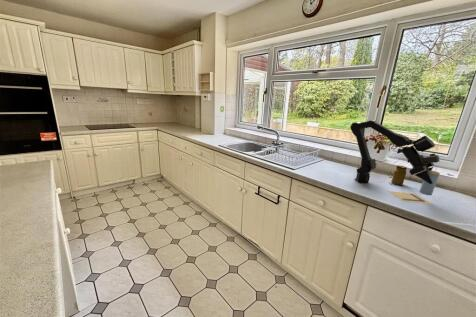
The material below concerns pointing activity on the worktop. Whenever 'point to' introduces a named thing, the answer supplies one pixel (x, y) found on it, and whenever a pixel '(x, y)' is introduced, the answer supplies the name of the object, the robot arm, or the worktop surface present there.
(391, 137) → the robot arm
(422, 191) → the canister
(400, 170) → the condiment
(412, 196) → the card
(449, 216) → the worktop surface
